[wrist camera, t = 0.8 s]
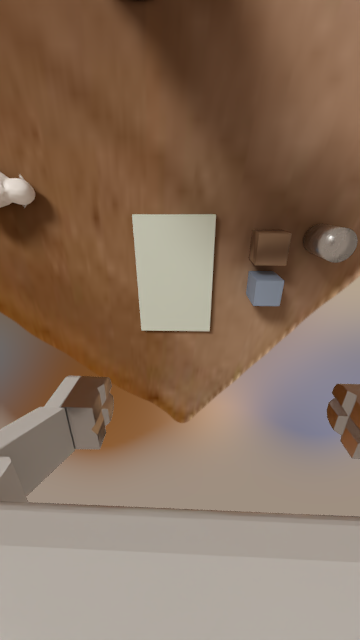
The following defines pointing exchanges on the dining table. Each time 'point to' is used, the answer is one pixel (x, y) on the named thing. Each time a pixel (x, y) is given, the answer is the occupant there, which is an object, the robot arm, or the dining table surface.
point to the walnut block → (270, 247)
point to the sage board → (174, 270)
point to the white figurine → (15, 191)
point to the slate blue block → (264, 288)
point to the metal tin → (330, 242)
